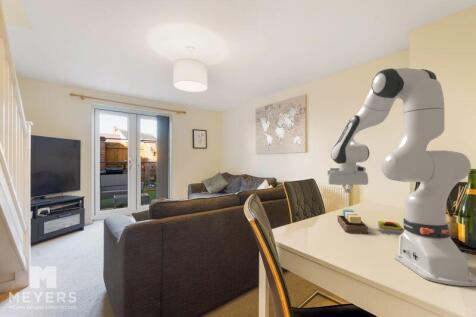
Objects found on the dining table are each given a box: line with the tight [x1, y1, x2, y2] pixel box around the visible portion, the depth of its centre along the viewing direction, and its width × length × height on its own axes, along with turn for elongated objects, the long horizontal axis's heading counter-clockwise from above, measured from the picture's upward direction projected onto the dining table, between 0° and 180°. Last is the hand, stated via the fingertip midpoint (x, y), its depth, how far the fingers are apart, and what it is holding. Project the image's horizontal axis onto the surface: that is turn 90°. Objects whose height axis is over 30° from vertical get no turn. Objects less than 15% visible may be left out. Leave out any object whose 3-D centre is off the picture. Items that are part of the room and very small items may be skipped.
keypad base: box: [337, 214, 369, 235], centre depth 117 cm, size 20×10×3 cm, turn 166°
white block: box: [345, 211, 358, 220], centre depth 117 cm, size 4×5×4 cm
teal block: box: [342, 208, 355, 217], centre depth 122 cm, size 4×5×4 cm
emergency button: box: [377, 220, 404, 236], centre depth 111 cm, size 9×4×15 cm
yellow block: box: [348, 214, 362, 224], centre depth 111 cm, size 4×5×4 cm
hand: (347, 192), depth 123 cm, fingers closed
